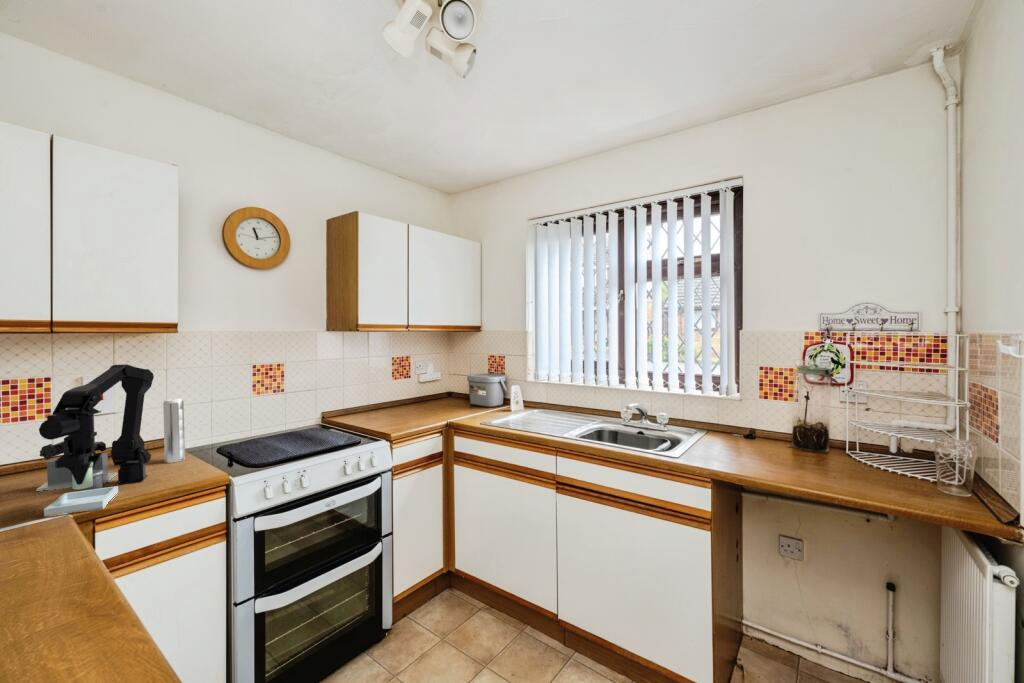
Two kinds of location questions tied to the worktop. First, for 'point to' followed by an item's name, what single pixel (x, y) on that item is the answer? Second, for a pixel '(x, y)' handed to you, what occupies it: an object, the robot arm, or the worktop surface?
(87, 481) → the cylinder
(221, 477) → the worktop surface
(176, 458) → the silver metal cylinder
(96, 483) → the grey cup
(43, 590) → the worktop surface
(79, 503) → the tray
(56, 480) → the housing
